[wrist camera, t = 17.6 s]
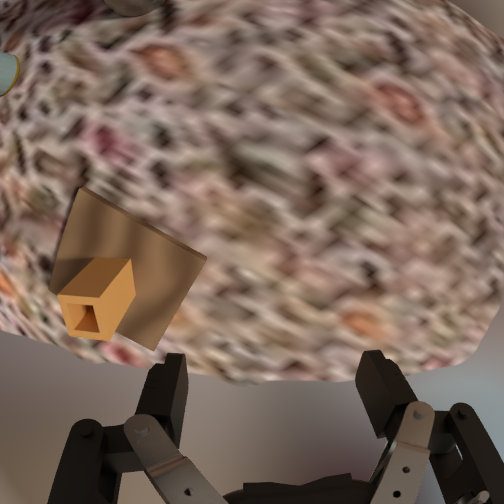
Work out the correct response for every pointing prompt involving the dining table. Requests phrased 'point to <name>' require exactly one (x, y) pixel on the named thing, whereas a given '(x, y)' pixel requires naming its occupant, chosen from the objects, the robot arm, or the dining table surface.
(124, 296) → the sleeve
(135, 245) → the base plate
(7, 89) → the bottle
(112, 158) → the dining table surface
